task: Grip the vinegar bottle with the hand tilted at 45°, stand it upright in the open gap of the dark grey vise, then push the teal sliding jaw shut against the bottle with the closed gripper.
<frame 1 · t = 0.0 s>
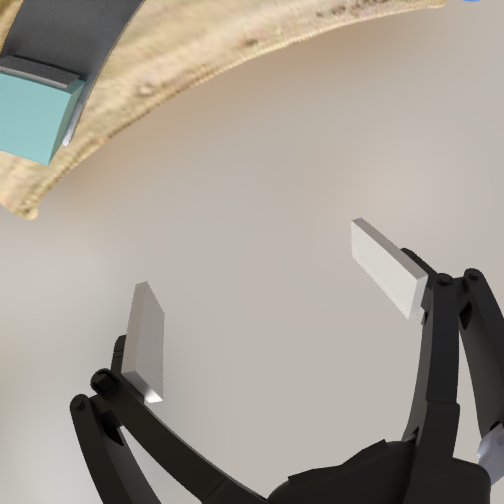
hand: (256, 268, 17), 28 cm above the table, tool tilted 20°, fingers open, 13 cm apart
vise base: (62, 34, 19), on the table
sliding jaw: (21, 105, 20), point 5 cm above the table, slide at 0.0 cm
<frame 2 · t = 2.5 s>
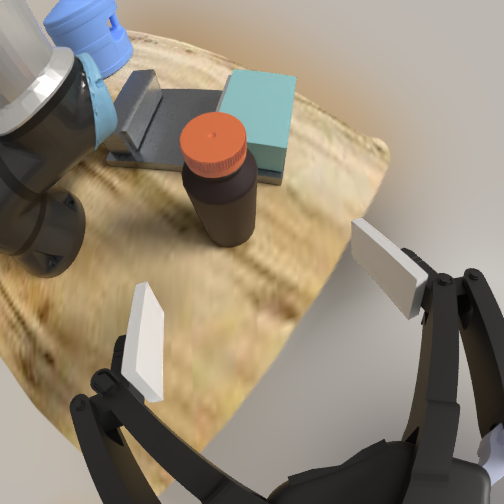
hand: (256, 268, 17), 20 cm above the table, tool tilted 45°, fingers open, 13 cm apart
water jug: (104, 64, 48), on the table
vise base: (200, 130, 42), on the table
vinegar: (230, 224, 38), on the table
sliding jaw: (254, 116, 36), point 5 cm above the table, slide at 0.0 cm
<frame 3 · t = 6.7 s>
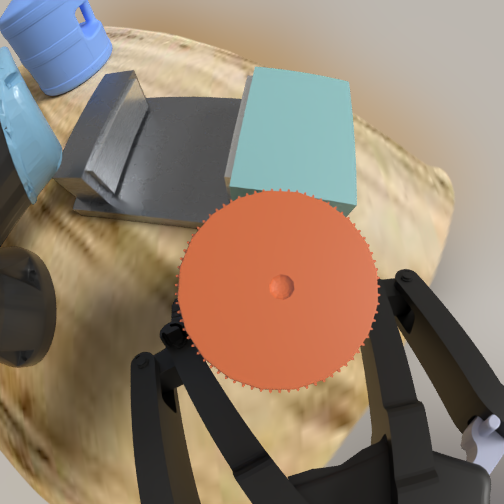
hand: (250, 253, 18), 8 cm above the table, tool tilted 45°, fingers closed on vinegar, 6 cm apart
water jug: (77, 69, 35), on the table
vise base: (206, 159, 29), on the table
vinegar: (261, 310, 26), on the table, touching gripper
sliding jaw: (292, 141, 24), point 5 cm above the table, slide at 0.0 cm
when the fingers open (12 cm above the table, at t = 12.5 s): vinegar drops 2 cm, resting on vise base.
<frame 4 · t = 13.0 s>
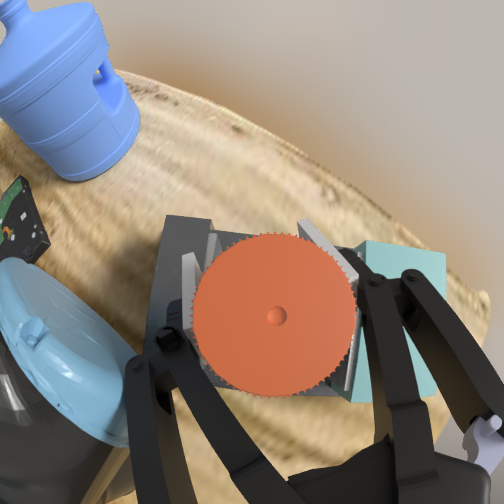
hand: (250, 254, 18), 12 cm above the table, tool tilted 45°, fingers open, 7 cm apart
water jug: (96, 139, 35), on the table
vise base: (294, 318, 29), on the table
disk drive: (20, 231, 32), on the table
vinegar: (255, 313, 27), point 2 cm above the table, touching gripper, vise base
sliding jaw: (389, 324, 24), point 5 cm above the table, slide at 0.0 cm
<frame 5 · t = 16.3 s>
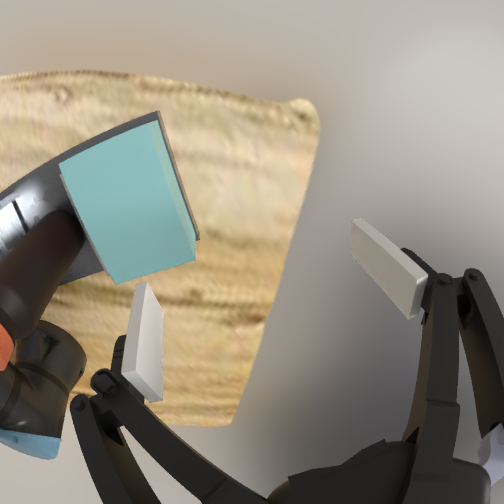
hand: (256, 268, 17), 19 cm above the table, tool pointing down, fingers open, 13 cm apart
vise base: (80, 212, 30), on the table
vinegar: (62, 233, 29), point 2 cm above the table, touching vise base
sliding jaw: (129, 202, 26), point 5 cm above the table, slide at 0.0 cm
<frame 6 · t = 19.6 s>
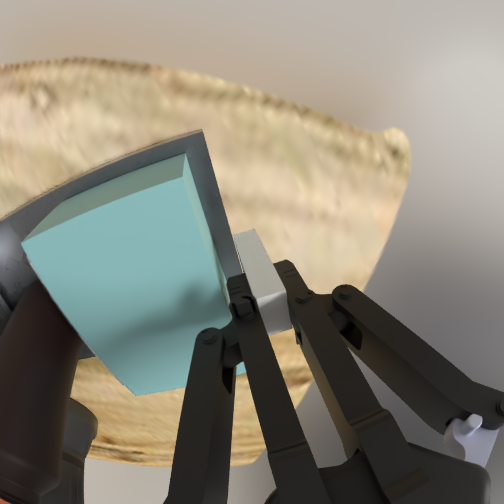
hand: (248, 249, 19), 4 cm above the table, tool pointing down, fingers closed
vise base: (79, 276, 21), on the table
vinegar: (56, 307, 20), point 2 cm above the table, touching vise base
sliding jaw: (146, 291, 17), point 5 cm above the table, slide at 1.2 cm, touching gripper
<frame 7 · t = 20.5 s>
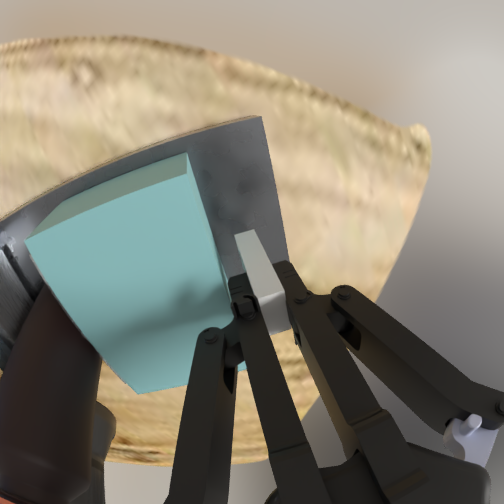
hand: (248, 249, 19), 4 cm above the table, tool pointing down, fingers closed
vise base: (114, 263, 21), on the table
vinegar: (76, 302, 20), point 2 cm above the table, touching vise base
sliding jaw: (148, 289, 17), point 5 cm above the table, slide at 5.0 cm, touching gripper
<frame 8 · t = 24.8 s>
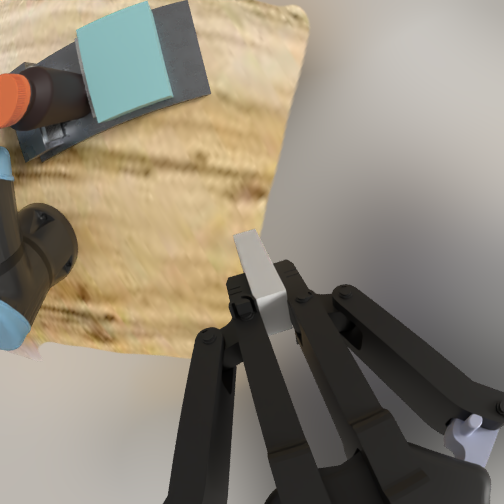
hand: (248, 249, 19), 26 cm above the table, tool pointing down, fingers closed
vise base: (107, 77, 30), on the table
vinegar: (79, 97, 29), point 2 cm above the table, touching vise base
sliding jaw: (123, 62, 26), point 5 cm above the table, slide at 4.9 cm
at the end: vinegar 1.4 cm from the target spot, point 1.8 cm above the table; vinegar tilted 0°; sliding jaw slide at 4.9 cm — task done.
